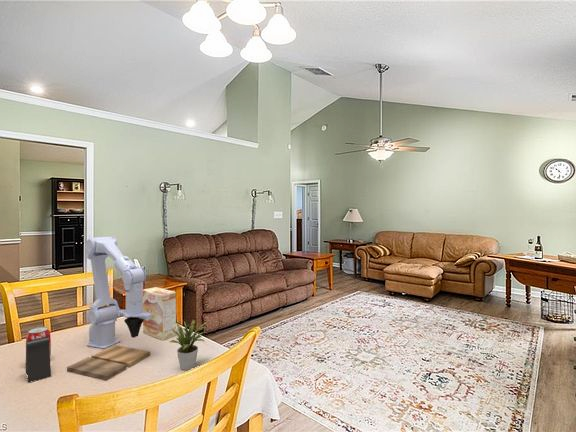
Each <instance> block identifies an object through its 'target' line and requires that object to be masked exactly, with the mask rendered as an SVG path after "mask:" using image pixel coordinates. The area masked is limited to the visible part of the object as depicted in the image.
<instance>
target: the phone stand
mask: <svg viewBox="0 0 576 432" xmlns="http://www.w3.org/2000/svg"><path fill="white" fill-rule="evenodd" d="M26 374H27V375H28V378H27V377H26V379H28V380H27V383H28V382H30V383H32V382H31V381H33V382H35V381H34V380H37V381H40V380H43V378H44V379H46V378H50V377H52V367H51V357H50V351H49V337H44V338H40V339H35V340H31V341H26V340H25V375H26ZM39 379H40V380H39Z"/></svg>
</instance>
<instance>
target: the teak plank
mask: <svg viewBox="0 0 576 432" xmlns="http://www.w3.org/2000/svg"><path fill="white" fill-rule="evenodd" d="M150 356H151V351H149V350H144V349H140V348H139V349H138V348H134V347H133V348H132V347H129V346H128V347H127V346H123V345H117V344H114V345H112V346H109V347H107V348H105V349H102V350H100V351H97V352H96V353H94V354H92V355H91V356H90V357H91V358H96V359H100V360H105V361H110V362H115V363H119V364H124V365H126V368H131V367H132V366H135V365H137V364H138V363H140V362H141V361H143V360H145V359H147V358H148V357H150Z"/></svg>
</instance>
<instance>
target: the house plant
mask: <svg viewBox="0 0 576 432" xmlns="http://www.w3.org/2000/svg"><path fill="white" fill-rule="evenodd" d="M183 322H184V328H182V326H181V325H180V324H179V323H178V322H177V321H176V322H175V323H176V328H177V330H178V332H179V333H178V332H177V330H176V331H174V330H172V329H171V330H172V331H174V332H175V334H176V336H177V337H176V340H175V339H172V340H170V341H169V343H176V344H179V345H180V347H179V348H177V350H176V353H177V357H178V363H179V368H180V370H183V371H190V370H192V369H191V368H193V369H194V368H195V367H196V364H197V359H198V358H197V357H198V353H199V352H198V351H199V347H198V346H197V345H196V344H195V343H196V342H197V341H199V342H201V341H202V342H205V339H202V338H201V337H202V334H204V333H205V332H204V331H203V332H199V331H200V330H202V329H206V326H205V325H206V324H207V323H209V322H205V323H202V324H201V325H199V326H198V327H197V328H196V329H194V328H195V323H196V320H194V319H192V321H191V322H190V325H189V329H188V325H187V324H186V321H185V320H183ZM189 369H190V370H189Z"/></svg>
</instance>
